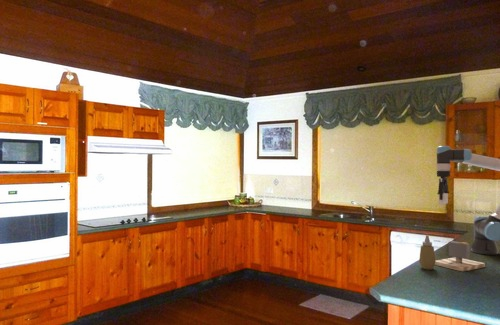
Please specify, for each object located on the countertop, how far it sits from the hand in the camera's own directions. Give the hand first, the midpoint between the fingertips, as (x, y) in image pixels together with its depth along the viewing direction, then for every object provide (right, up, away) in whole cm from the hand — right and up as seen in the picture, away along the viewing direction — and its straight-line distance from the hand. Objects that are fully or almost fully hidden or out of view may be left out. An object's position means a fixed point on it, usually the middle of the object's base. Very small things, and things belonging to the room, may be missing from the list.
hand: (443, 204), depth 248 cm
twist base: (-5, -31, -27) cm, 42 cm away
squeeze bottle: (-25, -32, -33) cm, 52 cm away
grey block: (-5, -27, -27) cm, 38 cm away
